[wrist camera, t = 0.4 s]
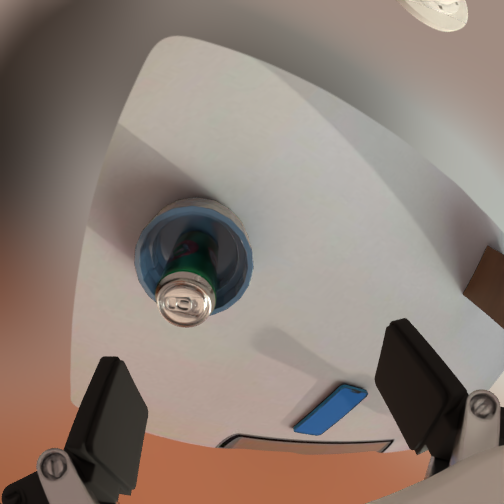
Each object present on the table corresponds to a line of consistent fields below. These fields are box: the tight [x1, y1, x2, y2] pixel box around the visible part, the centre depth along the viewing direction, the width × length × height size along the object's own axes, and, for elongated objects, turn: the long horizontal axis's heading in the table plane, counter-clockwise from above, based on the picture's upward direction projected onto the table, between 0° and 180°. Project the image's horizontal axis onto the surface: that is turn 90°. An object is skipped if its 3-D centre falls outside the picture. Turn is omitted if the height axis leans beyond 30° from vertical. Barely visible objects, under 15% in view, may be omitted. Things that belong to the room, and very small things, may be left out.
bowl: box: [134, 197, 254, 316], centre depth 31 cm, size 12×12×5 cm
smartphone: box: [293, 385, 368, 436], centre depth 47 cm, size 7×1×15 cm
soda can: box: [155, 231, 218, 328], centre depth 27 cm, size 5×5×12 cm
